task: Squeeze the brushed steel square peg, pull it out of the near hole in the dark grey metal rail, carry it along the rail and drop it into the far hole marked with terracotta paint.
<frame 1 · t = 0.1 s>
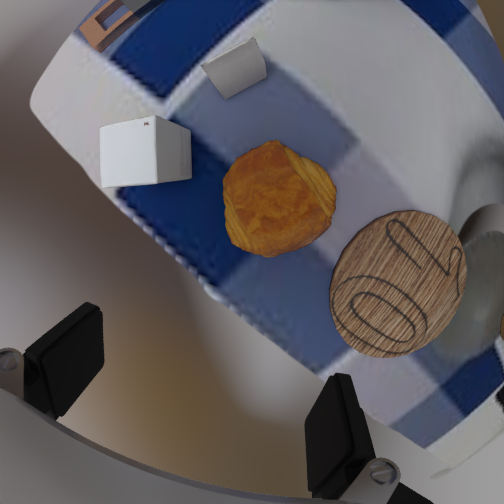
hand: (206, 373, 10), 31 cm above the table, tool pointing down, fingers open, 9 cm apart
trivet: (401, 287, 41), on the table
supplement box: (168, 156, 39), on the table
croissant: (276, 196, 39), on the table
white printed paper bag: (239, 79, 35), on the table
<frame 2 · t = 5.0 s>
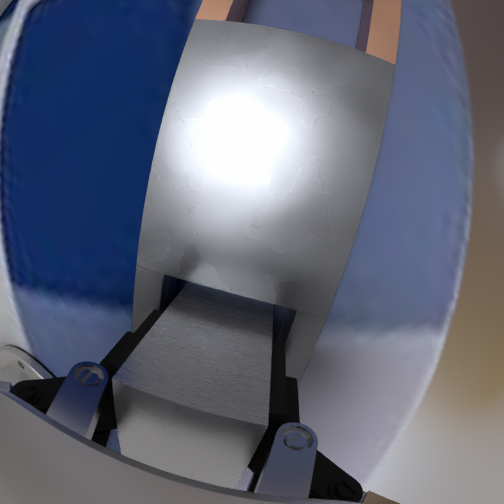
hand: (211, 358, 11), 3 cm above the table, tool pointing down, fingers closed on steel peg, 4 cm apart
steel peg: (224, 321, 14), resting in rail, touching gripper
rail: (265, 160, 12), on the table
when the fingers open (5 cm above the table, at t = 11.1 s): steel peg drops 2 cm, resting in rail.
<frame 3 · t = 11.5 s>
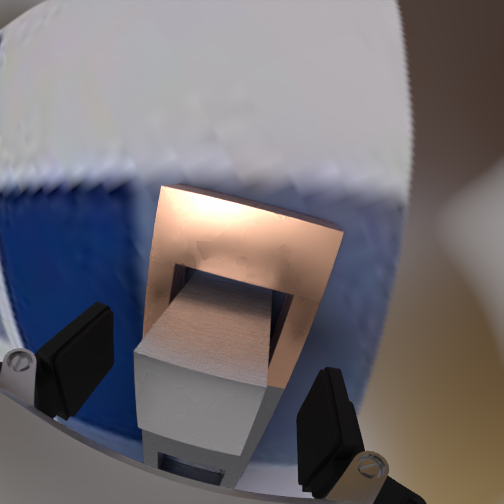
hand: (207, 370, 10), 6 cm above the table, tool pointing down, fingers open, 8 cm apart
steel peg: (228, 308, 16), resting in rail
rail: (207, 401, 18), on the table
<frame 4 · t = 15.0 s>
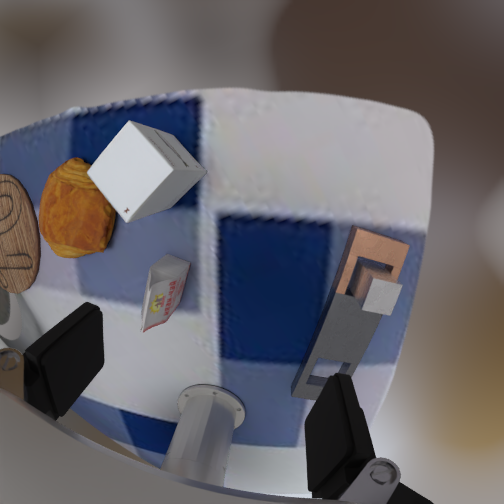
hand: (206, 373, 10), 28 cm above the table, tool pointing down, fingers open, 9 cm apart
trivet: (7, 233, 42), on the table
supplement box: (172, 171, 36), on the table
croissant: (85, 210, 39), on the table
steel peg: (364, 274, 38), resting in rail
white printed paper bag: (173, 278, 40), on the table
rail: (345, 323, 40), on the table
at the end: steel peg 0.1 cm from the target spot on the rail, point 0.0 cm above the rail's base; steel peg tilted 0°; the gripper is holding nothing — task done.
